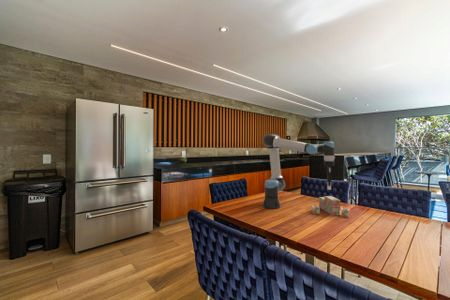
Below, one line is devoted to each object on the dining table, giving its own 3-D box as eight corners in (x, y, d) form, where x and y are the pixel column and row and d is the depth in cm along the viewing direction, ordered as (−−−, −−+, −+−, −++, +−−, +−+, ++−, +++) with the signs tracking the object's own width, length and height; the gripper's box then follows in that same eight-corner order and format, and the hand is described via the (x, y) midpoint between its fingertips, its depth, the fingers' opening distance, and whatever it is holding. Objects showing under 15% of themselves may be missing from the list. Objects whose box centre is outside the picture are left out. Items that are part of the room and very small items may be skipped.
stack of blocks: (318, 207, 186) (319, 193, 186) (325, 207, 187) (326, 193, 186) (332, 215, 165) (332, 199, 165) (340, 215, 165) (340, 199, 165)
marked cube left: (312, 213, 171) (312, 206, 171) (311, 211, 176) (311, 205, 176) (319, 213, 170) (319, 207, 170) (318, 211, 175) (318, 205, 175)
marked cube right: (341, 216, 164) (341, 209, 164) (341, 214, 168) (341, 207, 168) (348, 217, 162) (349, 210, 161) (348, 215, 166) (348, 208, 166)
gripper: (335, 161, 167) (335, 191, 167) (333, 160, 179) (333, 188, 180) (324, 161, 170) (324, 190, 170) (323, 160, 182) (323, 187, 182)
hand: (329, 189), depth 175 cm, fingers closed
